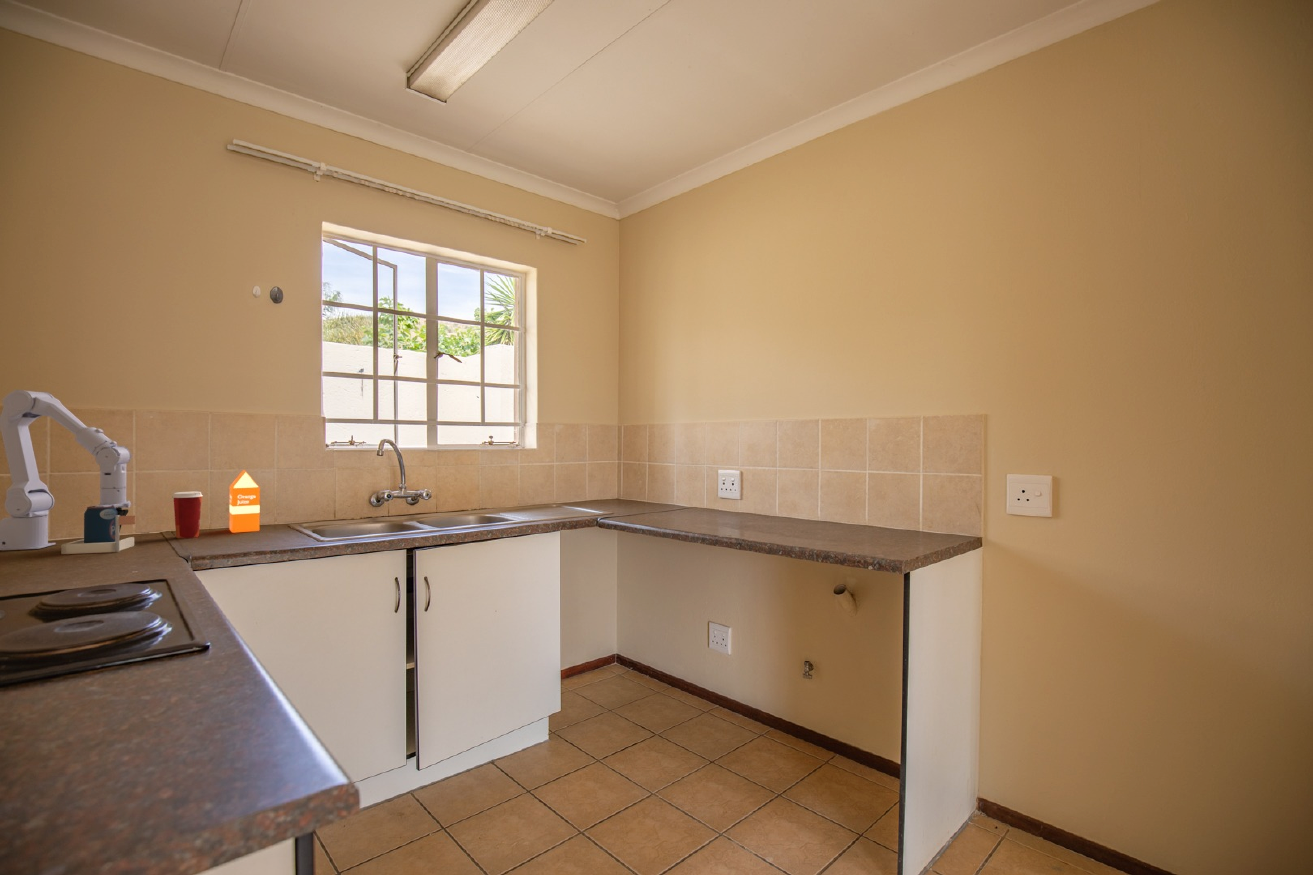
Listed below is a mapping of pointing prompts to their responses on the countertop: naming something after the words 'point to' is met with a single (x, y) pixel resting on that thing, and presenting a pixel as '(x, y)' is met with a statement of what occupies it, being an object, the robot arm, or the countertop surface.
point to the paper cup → (187, 514)
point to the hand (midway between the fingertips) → (113, 535)
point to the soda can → (100, 524)
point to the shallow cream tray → (102, 547)
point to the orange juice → (244, 504)
